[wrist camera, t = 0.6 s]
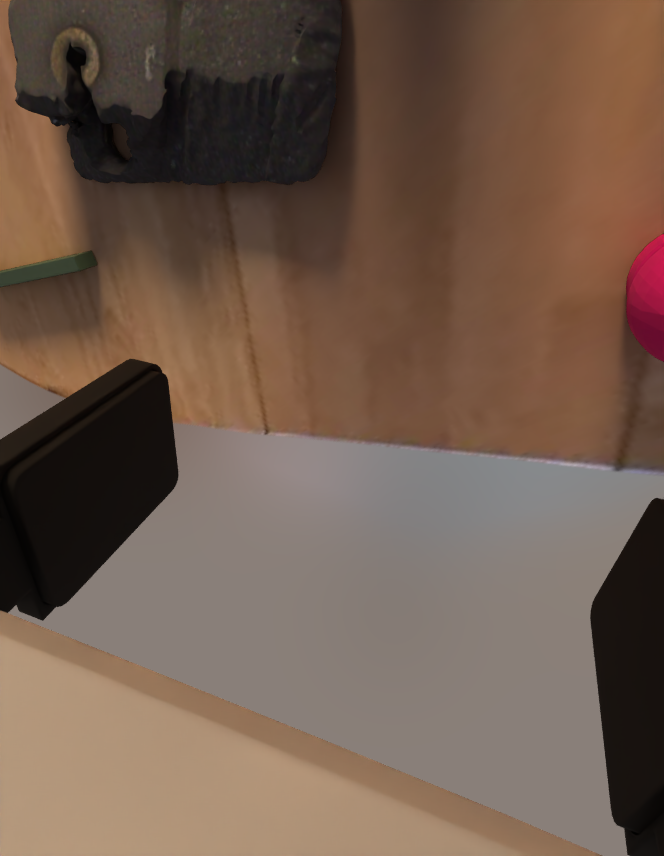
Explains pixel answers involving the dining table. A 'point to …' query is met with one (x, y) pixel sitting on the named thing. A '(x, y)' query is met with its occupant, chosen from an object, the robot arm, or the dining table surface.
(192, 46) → the dark slate chunk
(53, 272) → the corner stop
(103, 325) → the dining table surface
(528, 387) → the dining table surface
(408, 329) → the dining table surface
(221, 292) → the dining table surface
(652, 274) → the pepper mill
